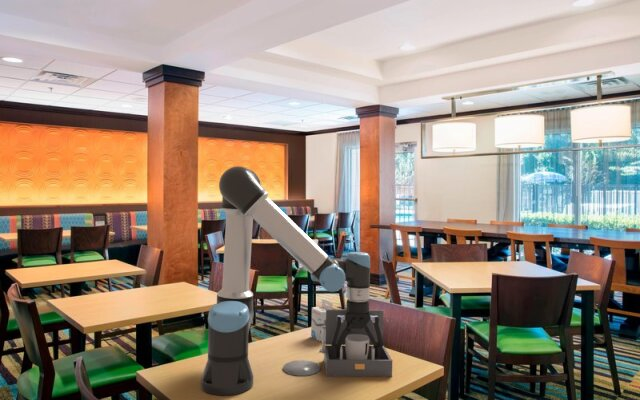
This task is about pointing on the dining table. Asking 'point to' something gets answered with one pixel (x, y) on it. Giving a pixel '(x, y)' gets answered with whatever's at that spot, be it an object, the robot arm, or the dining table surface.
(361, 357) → the cup
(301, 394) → the dining table surface
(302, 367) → the slate coaster
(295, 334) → the dining table surface
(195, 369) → the dining table surface
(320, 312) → the ink box
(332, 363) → the case
